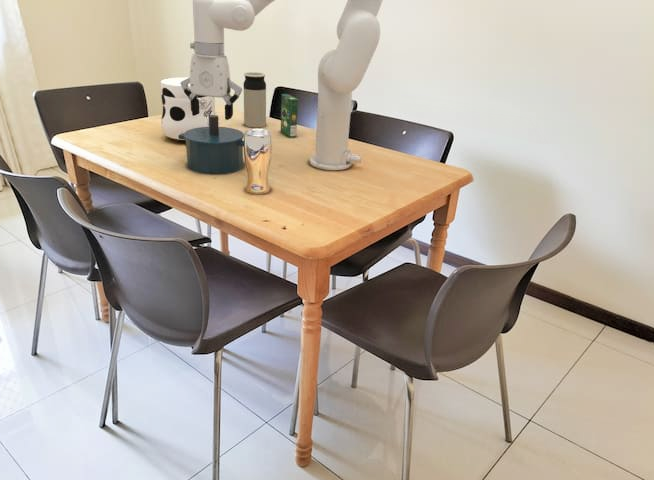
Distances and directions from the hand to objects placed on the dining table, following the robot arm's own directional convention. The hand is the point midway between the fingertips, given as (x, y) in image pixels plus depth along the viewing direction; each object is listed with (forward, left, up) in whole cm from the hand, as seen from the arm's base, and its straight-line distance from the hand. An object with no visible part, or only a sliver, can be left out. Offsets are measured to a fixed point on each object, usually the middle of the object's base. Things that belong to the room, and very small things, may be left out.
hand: (212, 116), depth 140 cm
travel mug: (+5, -47, -14) cm, 49 cm away
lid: (0, 0, -5) cm, 5 cm away
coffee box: (-10, -40, -14) cm, 44 cm away
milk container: (+19, -22, -14) cm, 32 cm away
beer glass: (-18, +14, -14) cm, 27 cm away
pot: (0, 0, -14) cm, 14 cm away
